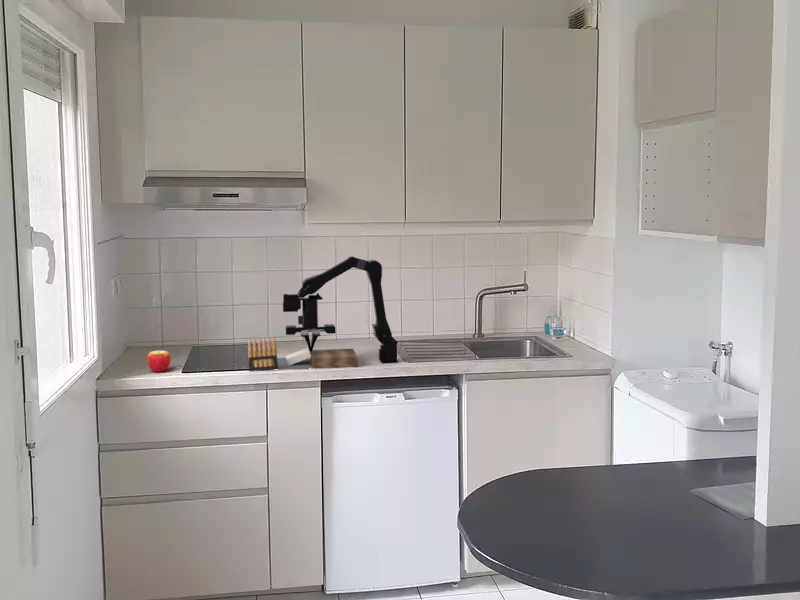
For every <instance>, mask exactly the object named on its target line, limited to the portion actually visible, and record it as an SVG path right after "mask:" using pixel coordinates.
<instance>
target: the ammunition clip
mask: <svg viewBox="0 0 800 600" xmlns="http://www.w3.org/2000/svg"><path fill="white" fill-rule="evenodd" d="M247 340H248V341H247V342H248V343H247V354H248V355H247V356H248V359H247V360H248V372H254V370H257V371H267V370H268V371H269V370H273V369H278V362H277V358H278V353H277V352H278V351H277V350H278V349H277V344H276V339H275V336H272V340H271V339H270V337H269V336H268V337H267V343H266V338H265V337H263V338H262V342H261V338H260V337H258V339H257V341H256V339H255V337H254V338H253V340H252V342H251V339H250V338H248V339H247ZM271 341H272V342H271Z"/></svg>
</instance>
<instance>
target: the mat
mask: <svg viewBox="0 0 800 600" xmlns="http://www.w3.org/2000/svg"><path fill="white" fill-rule="evenodd" d="M277 362H278V369H292V370H310V369H309V368H311V369H312V365H311V362H310V357H309V358H307V359H305V360H302V361H300V362H297V363H295V364H292V365H290V366H289V364H288V362H287V359H286V357H280V358H279V357H277Z"/></svg>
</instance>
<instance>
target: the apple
mask: <svg viewBox="0 0 800 600" xmlns="http://www.w3.org/2000/svg"><path fill="white" fill-rule="evenodd" d="M157 349H158V350H153V351H150V352H148V354H147V357H146V361H147V365H148V367H149V369H150V370H151V371H152V372H155V373H161V372H165V371H166V370H167V369H168V368H169V367H170V364H171V353H170V352H169V351H167V350H162V349H161V350H160V343H158V347H157Z"/></svg>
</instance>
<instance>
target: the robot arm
mask: <svg viewBox="0 0 800 600" xmlns="http://www.w3.org/2000/svg"><path fill="white" fill-rule="evenodd" d="M352 268H354V269H357V270H361V271H365V273H366V276H367V278H368V281H369V283H370V287H371V294H372V301H373V306H374V314H375V324H374V323H372V324H371V325H372V328H373V333H372V335H373V336H374V337H375V338H376V339H377V340H378V342H380V345H379V348H378V361H380V363H382V364H386V363H387V364H388V363H391V364H392V363H399V360H398V341H397V339H395V338H394V337H393V333H392V331H391V328H390V325H389V322H388V320H387V315H386V314H387V313H386V308H385V302H384V301H385V300H384V295H383V289H382V280H383V265H382V264H381V263H380V262H379V261H377V260H375V259H369V260H365V259H361V258H358V257H354V256H352V255H351V256H348V257H347V258H345V259H344V260H343V261H341V262H339V263H337V264H335V265H334V266H332V267H330V268H328V269H326V270H325V271H324V272H322V273H319V274H316V275H312V276H309V277H307V278H304V279H303V281H302V283H301V288H300V289H299V290H298V292H297V293H296V294H295V293H290V294H289V293H283V296H282V300H283V301H282V312H283V313H296V312H299V310H301V309H302V315H298V316H297V324H298V325H300V326H301V325H302V327H299V326H298V327H297V325H296V324H293V325H286V326H285V327H284V328H285V335H286V336H294V335H296V334H297V333H300V336H301V337H302V338H304V340H305V342H306V344H307V347H308V349H309V351H310V352H312V350H314V346H315V343H316V342H317V339H318V338H319V337H321V336H322V335H321V332H325V333H326V334H327V335H328V334H329V335H330V334H337V333H336V332H337V330H336V326H335V325H334V324H333V323H332V324H331V323H327V324H323V326H319V316H318V315H319V313H318V311H319V310H318V305H319V304H318V303H319V302H318V301H319V300H321V301H322V300H323V296H321V295H320V293H319V292H318V291H319V290H320V289H322V287H324V285H326V284H327V283H328V282H330V281H332V280H333V279H335V278H337V277H339V276H340V275H342V274H345V272H348V271H349V270H351V269H352ZM315 293H316V294H315ZM306 296H307V297H306ZM301 301H302V302H301ZM310 333H311V340H310V335H309V334H310Z"/></svg>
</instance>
